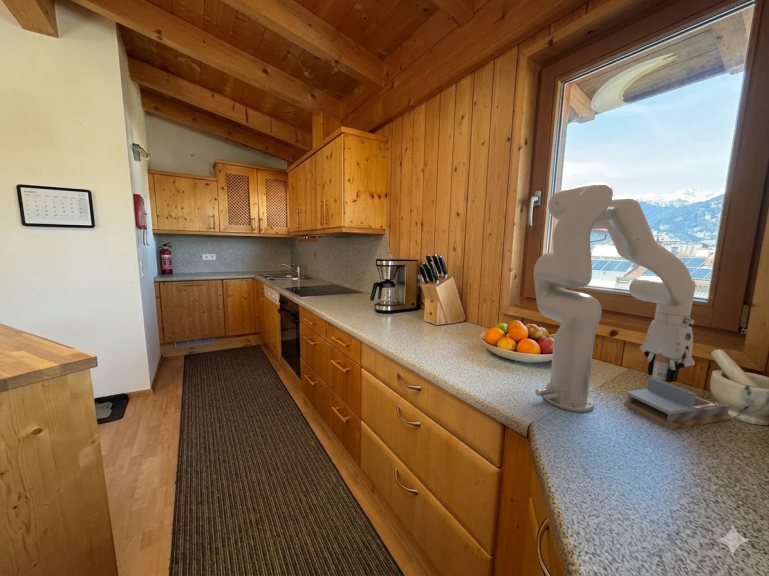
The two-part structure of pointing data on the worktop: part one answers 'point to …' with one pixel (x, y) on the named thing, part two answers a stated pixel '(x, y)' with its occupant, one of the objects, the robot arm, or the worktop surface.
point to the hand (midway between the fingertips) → (661, 377)
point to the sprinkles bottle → (661, 367)
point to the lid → (665, 397)
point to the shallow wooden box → (701, 415)
